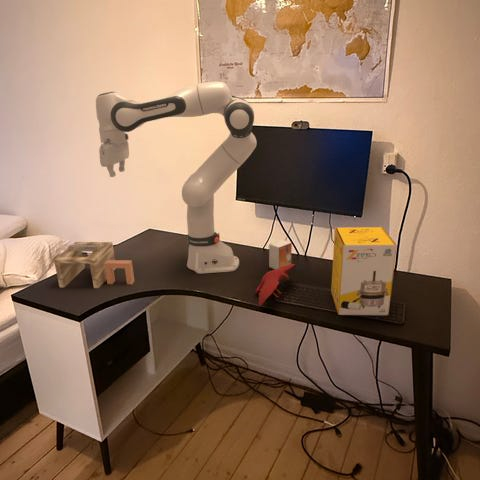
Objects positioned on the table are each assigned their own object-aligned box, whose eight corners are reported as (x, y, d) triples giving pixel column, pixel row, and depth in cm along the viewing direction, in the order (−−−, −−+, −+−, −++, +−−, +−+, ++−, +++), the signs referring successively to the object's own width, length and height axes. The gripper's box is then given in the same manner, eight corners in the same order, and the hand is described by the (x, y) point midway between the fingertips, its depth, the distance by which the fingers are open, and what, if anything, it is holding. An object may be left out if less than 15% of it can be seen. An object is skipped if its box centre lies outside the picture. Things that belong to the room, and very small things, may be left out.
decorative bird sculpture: (252, 324, 138) (281, 302, 130) (234, 304, 139) (261, 280, 131) (281, 288, 162) (307, 267, 154) (265, 271, 162) (290, 249, 154)
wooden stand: (116, 268, 174) (111, 237, 169) (98, 288, 157) (93, 255, 152) (80, 267, 175) (74, 237, 170) (59, 287, 159) (52, 254, 154)
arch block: (134, 280, 162) (131, 260, 159) (132, 284, 159) (129, 263, 156) (110, 280, 163) (107, 260, 160) (107, 284, 160) (104, 263, 157)
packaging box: (376, 291, 148) (382, 227, 139) (388, 315, 133) (396, 244, 124) (331, 291, 149) (334, 227, 140) (338, 315, 134) (343, 245, 125)
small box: (278, 271, 166) (278, 247, 163) (268, 267, 170) (268, 244, 166) (291, 265, 171) (292, 242, 167) (281, 261, 175) (282, 238, 171)
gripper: (109, 141, 143) (115, 179, 148) (129, 134, 162) (134, 168, 167) (92, 141, 144) (98, 180, 149) (114, 134, 163) (119, 168, 168)
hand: (117, 173), depth 158 cm, fingers open, 8 cm apart
